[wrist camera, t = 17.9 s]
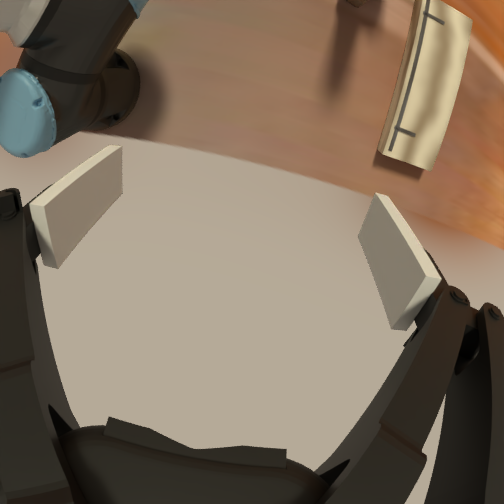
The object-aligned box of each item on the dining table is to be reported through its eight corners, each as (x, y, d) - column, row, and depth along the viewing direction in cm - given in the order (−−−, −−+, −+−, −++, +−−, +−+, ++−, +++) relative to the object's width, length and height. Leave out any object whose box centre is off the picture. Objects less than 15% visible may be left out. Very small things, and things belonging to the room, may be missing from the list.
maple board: (376, 149, 45) (382, 154, 43) (415, -6, 28) (424, -9, 25) (424, 165, 46) (431, 172, 43) (463, 21, 29) (473, 20, 26)
